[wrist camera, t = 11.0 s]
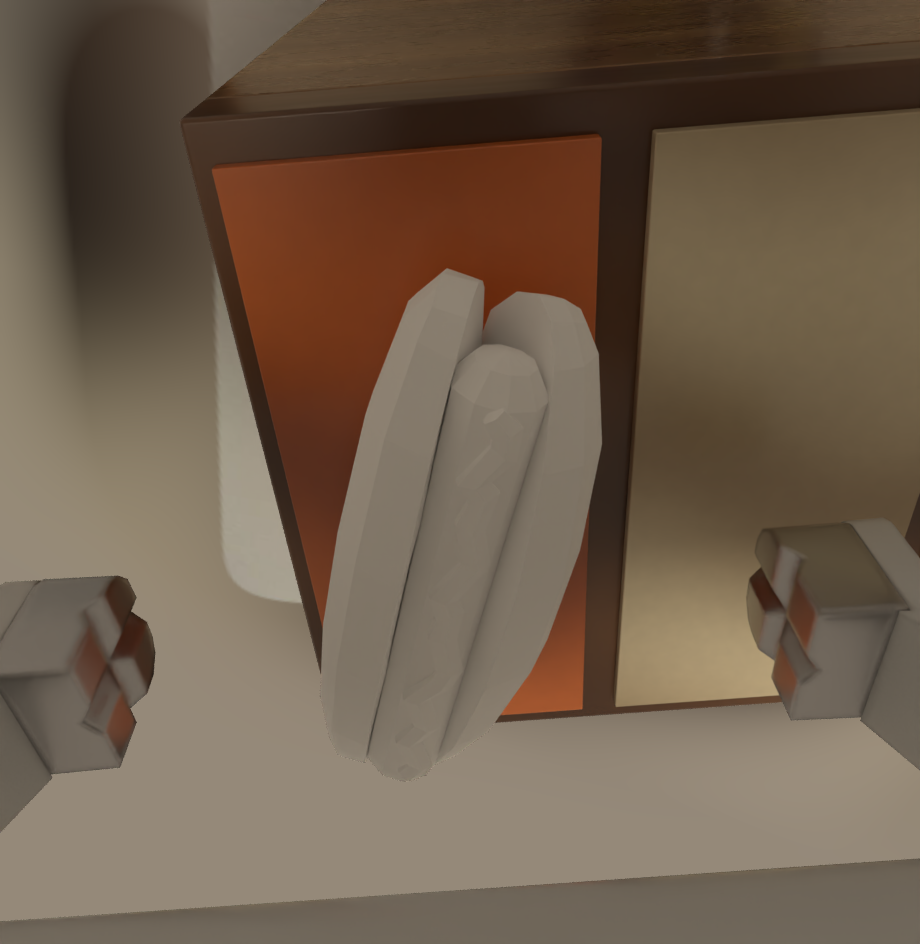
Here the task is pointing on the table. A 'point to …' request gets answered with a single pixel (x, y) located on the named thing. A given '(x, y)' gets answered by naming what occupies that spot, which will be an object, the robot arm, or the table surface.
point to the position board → (603, 317)
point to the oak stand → (550, 37)
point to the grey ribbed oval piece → (458, 522)
